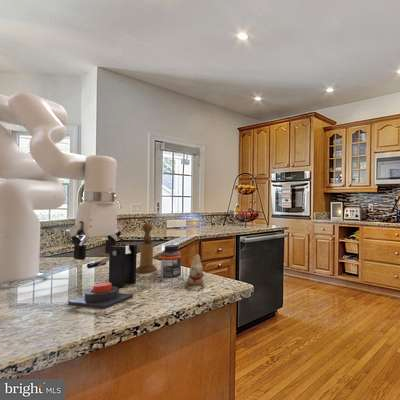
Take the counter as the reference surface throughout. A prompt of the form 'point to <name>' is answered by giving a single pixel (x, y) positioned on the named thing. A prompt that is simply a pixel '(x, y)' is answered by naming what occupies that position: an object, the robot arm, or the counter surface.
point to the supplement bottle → (171, 262)
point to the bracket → (122, 265)
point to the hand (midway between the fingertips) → (95, 256)
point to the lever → (105, 260)
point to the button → (102, 287)
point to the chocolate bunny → (196, 272)
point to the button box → (101, 299)
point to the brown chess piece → (146, 252)
